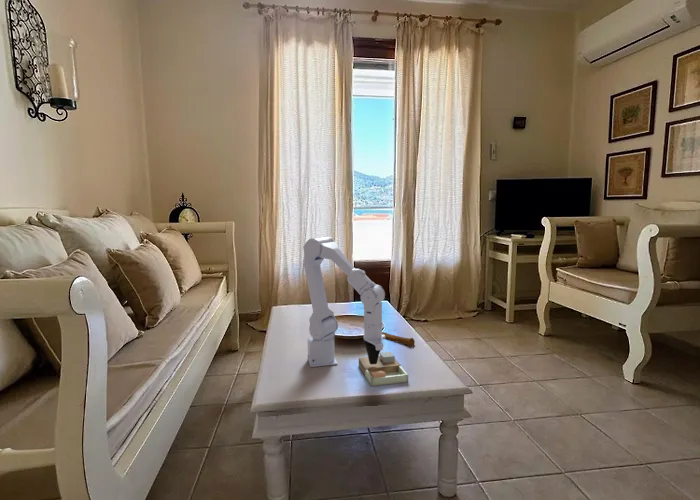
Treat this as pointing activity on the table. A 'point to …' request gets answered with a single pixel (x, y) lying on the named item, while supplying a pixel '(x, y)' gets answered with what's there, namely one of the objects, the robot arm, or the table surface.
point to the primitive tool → (399, 339)
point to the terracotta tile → (377, 374)
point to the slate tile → (387, 357)
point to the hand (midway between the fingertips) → (373, 363)
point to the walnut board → (378, 365)
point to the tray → (388, 378)
